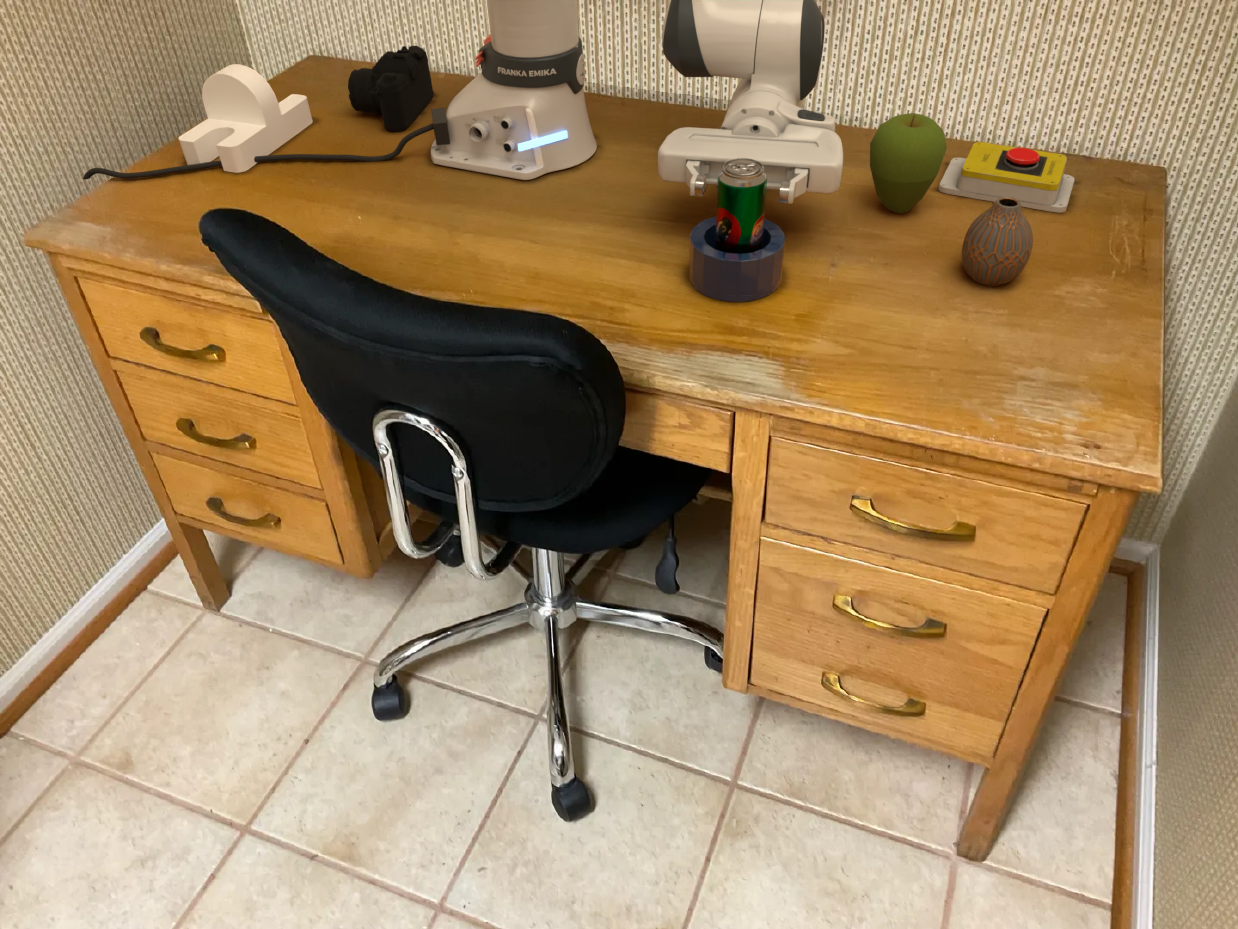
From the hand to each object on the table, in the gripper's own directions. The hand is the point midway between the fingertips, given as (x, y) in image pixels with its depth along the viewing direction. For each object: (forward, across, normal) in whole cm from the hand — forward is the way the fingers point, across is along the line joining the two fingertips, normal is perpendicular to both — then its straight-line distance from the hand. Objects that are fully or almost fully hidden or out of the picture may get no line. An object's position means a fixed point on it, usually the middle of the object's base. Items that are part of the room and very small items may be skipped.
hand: (740, 193), depth 102 cm
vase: (-3, +27, +9) cm, 29 cm away
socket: (+2, 0, +9) cm, 9 cm away
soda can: (+2, 0, +8) cm, 9 cm away
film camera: (-35, -56, +9) cm, 67 cm away
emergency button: (-25, +30, +9) cm, 40 cm away
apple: (-17, +17, +9) cm, 26 cm away
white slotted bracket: (-22, -72, +9) cm, 76 cm away
